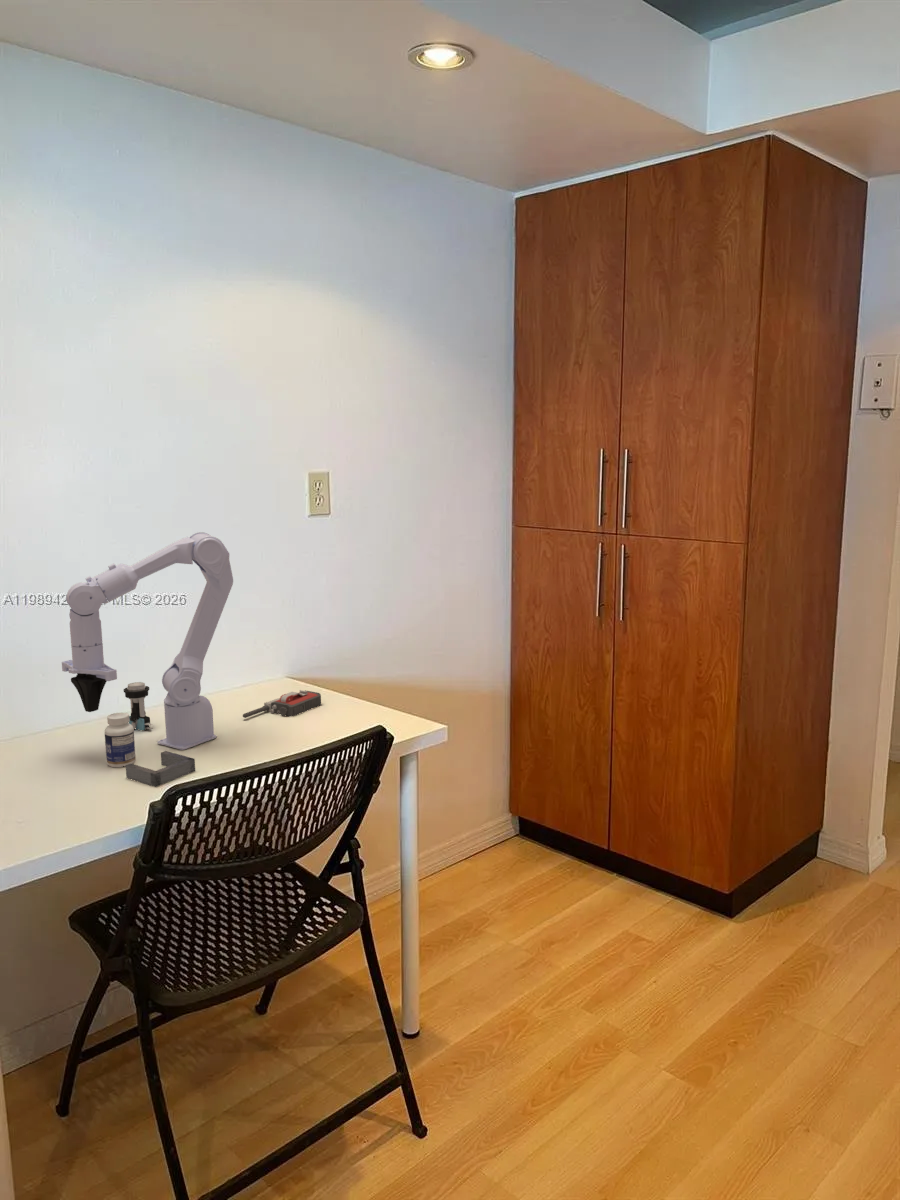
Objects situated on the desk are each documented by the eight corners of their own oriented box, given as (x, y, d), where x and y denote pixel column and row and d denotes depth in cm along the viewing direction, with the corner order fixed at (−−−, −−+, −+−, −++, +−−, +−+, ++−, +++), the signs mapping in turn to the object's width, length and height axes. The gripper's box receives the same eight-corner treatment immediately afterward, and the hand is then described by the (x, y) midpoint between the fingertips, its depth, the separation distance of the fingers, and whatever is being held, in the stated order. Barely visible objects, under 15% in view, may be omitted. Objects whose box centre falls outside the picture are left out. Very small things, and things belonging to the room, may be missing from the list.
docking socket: (166, 763, 177) (165, 750, 176) (195, 771, 172) (194, 758, 172) (126, 778, 169) (125, 765, 168) (155, 787, 164) (154, 774, 164)
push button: (161, 728, 198) (158, 684, 196) (141, 734, 193) (138, 689, 192) (141, 723, 201) (138, 679, 200) (121, 729, 197) (118, 685, 195)
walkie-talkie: (298, 699, 220) (240, 721, 204) (298, 681, 220) (239, 702, 203) (326, 704, 216) (269, 727, 199) (326, 687, 215) (268, 708, 198)
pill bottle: (106, 760, 178) (103, 713, 176) (135, 756, 180) (132, 710, 178) (106, 769, 173) (103, 721, 172) (136, 766, 175) (133, 718, 173)
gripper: (46, 643, 177) (51, 709, 180) (92, 652, 170) (97, 721, 172) (77, 636, 183) (82, 701, 186) (124, 645, 175) (128, 712, 178)
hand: (91, 710), depth 179 cm, fingers closed
